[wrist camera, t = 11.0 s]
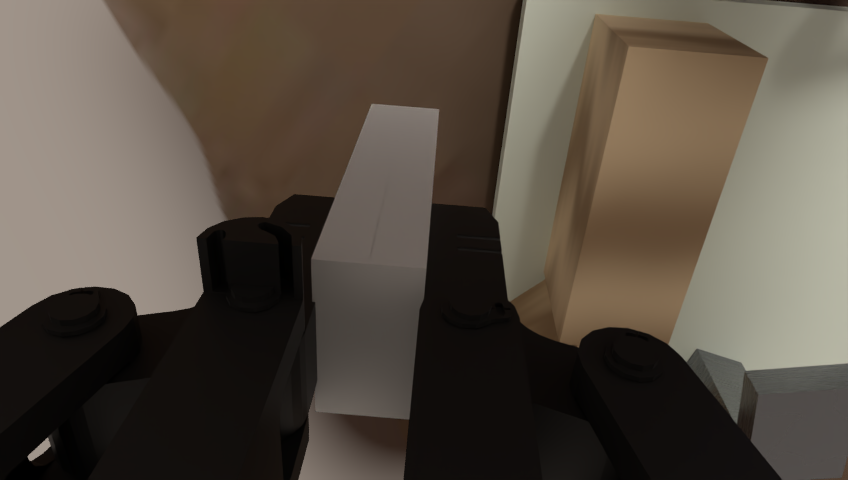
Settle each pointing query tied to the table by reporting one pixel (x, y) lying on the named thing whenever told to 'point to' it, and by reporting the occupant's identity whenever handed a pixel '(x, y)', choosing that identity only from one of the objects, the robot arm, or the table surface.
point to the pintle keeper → (785, 412)
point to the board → (744, 187)
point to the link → (641, 175)
